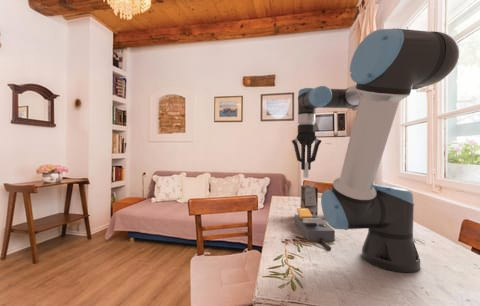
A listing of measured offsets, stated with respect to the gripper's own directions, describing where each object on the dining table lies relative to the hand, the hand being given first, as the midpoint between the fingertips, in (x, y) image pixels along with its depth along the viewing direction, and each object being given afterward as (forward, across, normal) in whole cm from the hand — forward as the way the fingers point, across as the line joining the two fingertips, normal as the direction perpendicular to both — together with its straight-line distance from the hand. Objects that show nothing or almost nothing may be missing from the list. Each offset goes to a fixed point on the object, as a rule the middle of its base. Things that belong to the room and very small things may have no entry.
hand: (305, 177), depth 103 cm
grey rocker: (+16, 0, +11) cm, 19 cm away
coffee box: (+23, -5, -13) cm, 27 cm away
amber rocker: (+16, +1, +1) cm, 16 cm away
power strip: (+22, -2, +10) cm, 24 cm away
